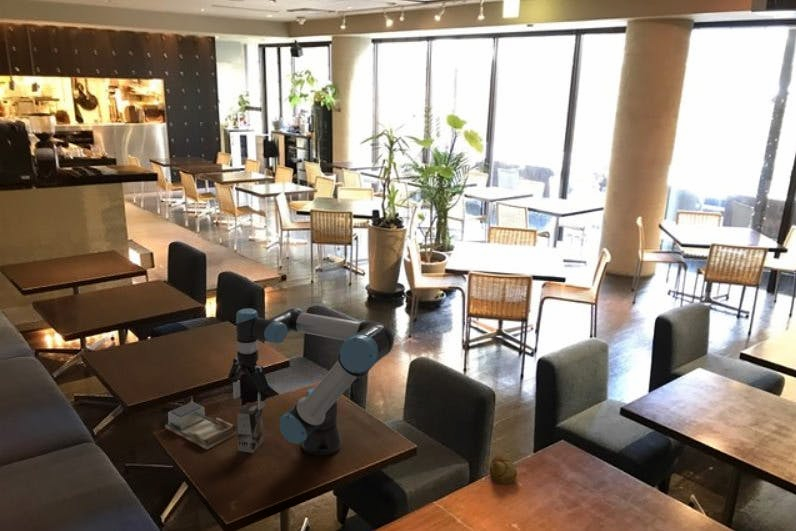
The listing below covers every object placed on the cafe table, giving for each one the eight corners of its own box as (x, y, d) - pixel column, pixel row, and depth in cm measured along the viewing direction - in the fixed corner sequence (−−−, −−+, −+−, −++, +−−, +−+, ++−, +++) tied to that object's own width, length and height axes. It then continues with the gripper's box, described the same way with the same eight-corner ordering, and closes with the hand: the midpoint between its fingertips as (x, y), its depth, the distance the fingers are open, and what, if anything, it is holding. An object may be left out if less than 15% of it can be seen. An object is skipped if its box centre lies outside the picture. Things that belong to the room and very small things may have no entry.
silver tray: (236, 434, 242) (235, 426, 241) (206, 449, 231) (206, 440, 230) (194, 414, 257) (194, 406, 256) (165, 427, 246) (164, 419, 245)
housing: (205, 418, 251) (204, 406, 249) (180, 429, 241) (180, 417, 240) (192, 412, 255) (192, 400, 254) (168, 423, 246) (167, 411, 245)
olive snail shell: (487, 464, 227) (488, 445, 225) (513, 466, 227) (515, 447, 225) (489, 485, 215) (491, 465, 213) (517, 487, 214) (519, 467, 212)
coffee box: (253, 453, 230) (252, 414, 226) (237, 451, 231) (236, 412, 227) (263, 440, 238) (262, 403, 234) (248, 438, 240) (247, 401, 236)
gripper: (279, 355, 221) (279, 408, 226) (233, 339, 235) (234, 389, 240) (263, 362, 215) (264, 416, 220) (217, 344, 229) (219, 396, 234)
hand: (249, 402), depth 230 cm, fingers open, 13 cm apart
